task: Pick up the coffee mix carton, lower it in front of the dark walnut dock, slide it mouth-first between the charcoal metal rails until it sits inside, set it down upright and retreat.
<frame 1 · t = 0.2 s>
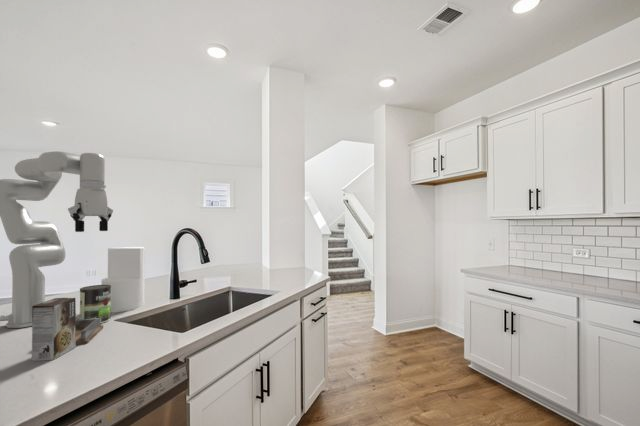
hand: (92, 231, 114), 37 cm above the worktop, tool pointing down, fingers open, 9 cm apart
coffee can: (95, 322, 123), on the worktop
dock: (73, 337, 106), on the worktop
tall white block: (123, 307, 144), on the worktop
coffee box: (54, 354, 92), on the worktop
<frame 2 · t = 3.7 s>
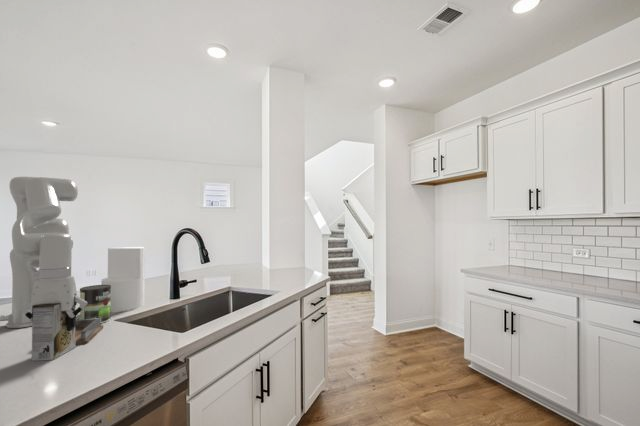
hand: (54, 331, 93), 7 cm above the worktop, tool pointing down, fingers closed on coffee box, 7 cm apart
coffee box: (54, 354, 92), on the worktop, touching gripper
everything else where it was.
when the fingers open (8 cm above the worktop, at t = 11.8 s): coffee box stays where it is, resting on dock.
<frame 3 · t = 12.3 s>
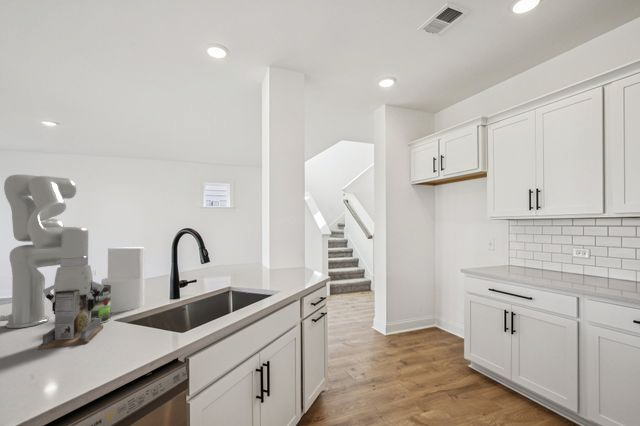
hand: (74, 311, 106), 9 cm above the worktop, tool pointing down, fingers open, 9 cm apart
coffee box: (73, 335, 106), point 1 cm above the worktop, touching dock
everything else where it was.
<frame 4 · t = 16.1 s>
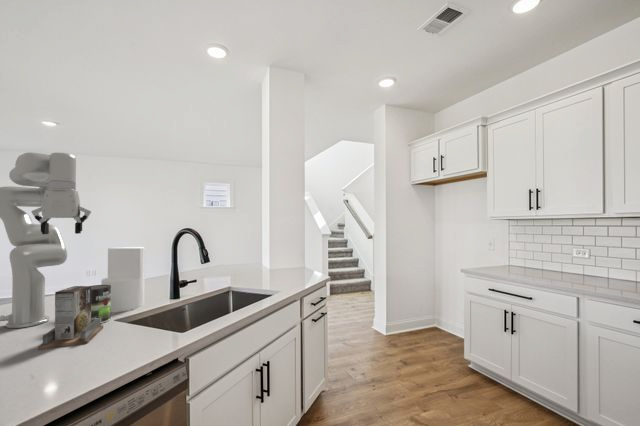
hand: (61, 233, 110), 36 cm above the worktop, tool pointing down, fingers open, 9 cm apart
nothing on the worktop moved.
at the end: coffee box 0.7 cm off-centre on the dock, point 0.8 cm above the dock's base; coffee box tilted 0°; the gripper is holding nothing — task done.
